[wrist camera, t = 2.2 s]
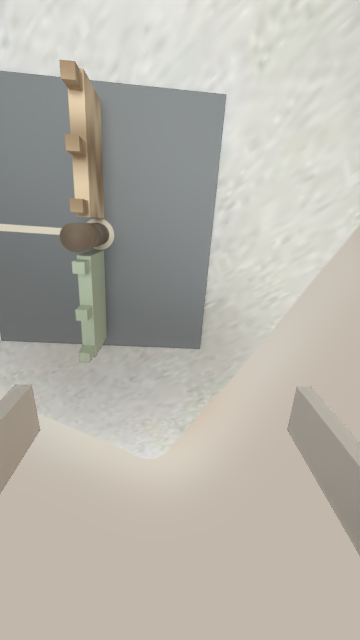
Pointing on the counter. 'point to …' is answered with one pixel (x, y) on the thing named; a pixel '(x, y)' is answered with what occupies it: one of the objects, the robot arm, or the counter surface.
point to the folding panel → (91, 302)
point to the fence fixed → (84, 160)
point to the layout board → (108, 211)
